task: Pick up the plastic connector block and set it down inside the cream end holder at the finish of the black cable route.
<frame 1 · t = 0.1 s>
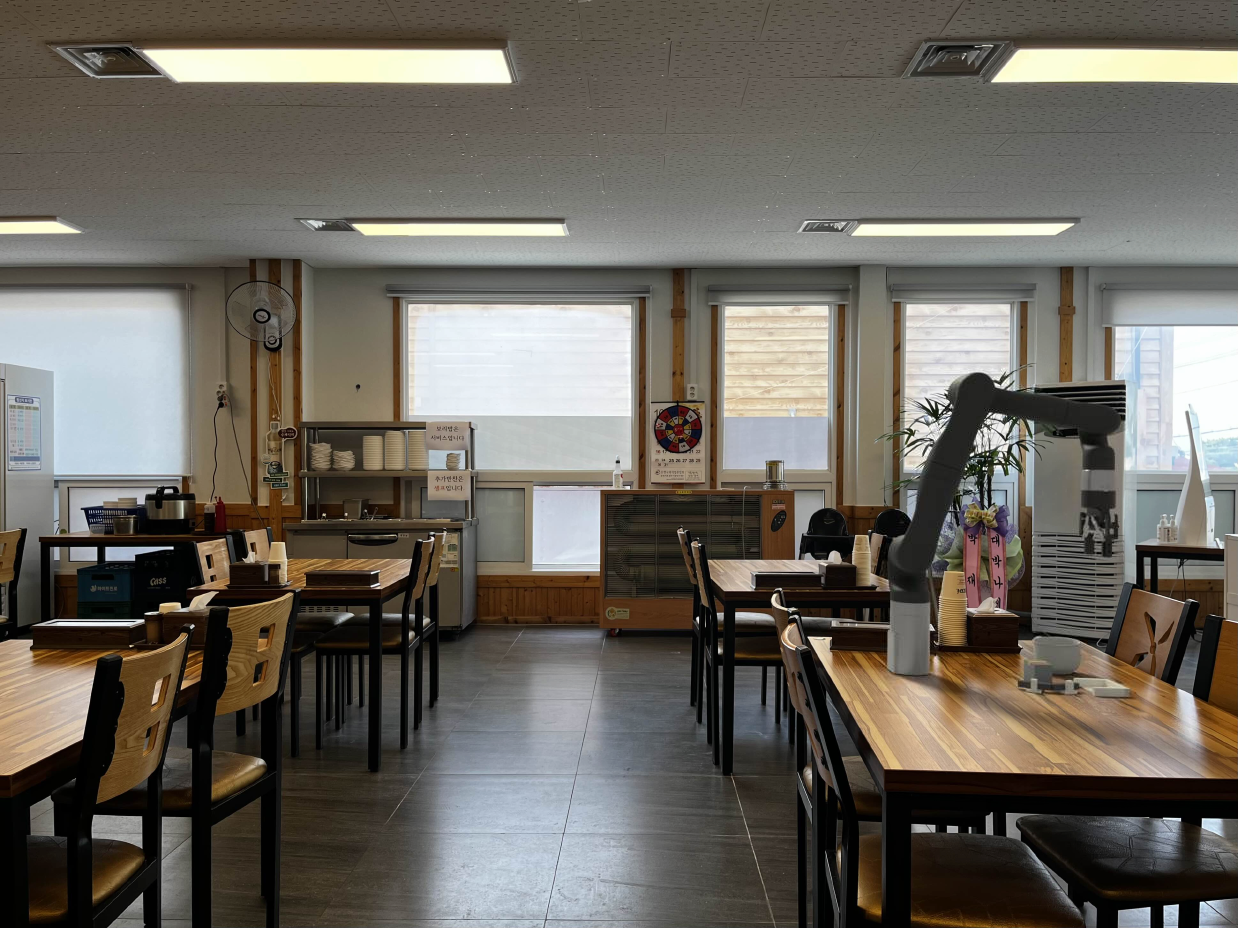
hand: (1097, 555, 220), 29 cm above the table, tool pointing down, fingers open, 8 cm apart
connector: (1037, 683, 211), on the table
end holder: (1100, 691, 203), on the table
cable run: (1048, 690, 203), on the table
clips: (1048, 690, 203), on the table
teacup: (1053, 671, 225), on the table
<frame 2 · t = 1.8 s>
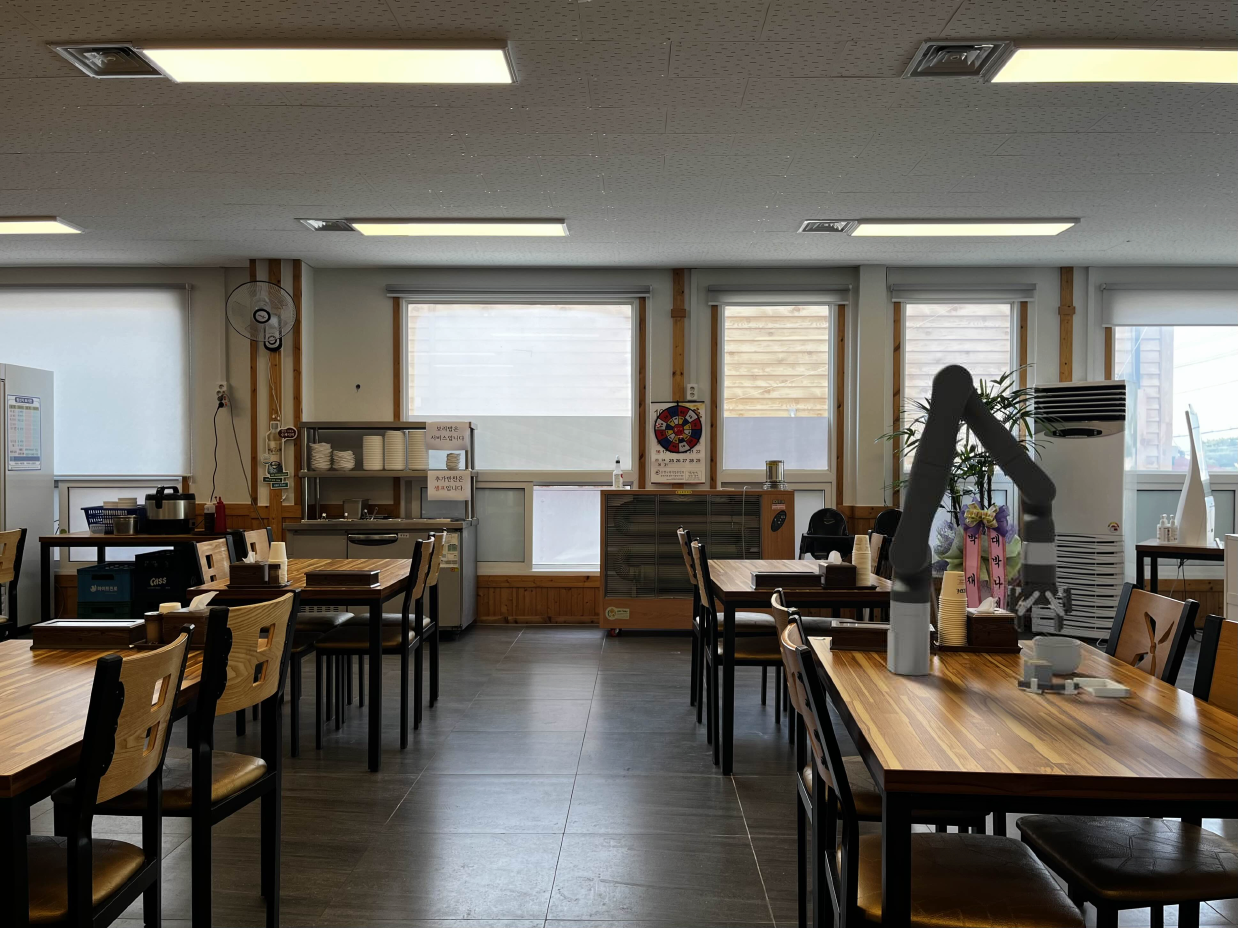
hand: (1039, 631, 211), 12 cm above the table, tool pointing down, fingers open, 8 cm apart
nothing on the table moved.
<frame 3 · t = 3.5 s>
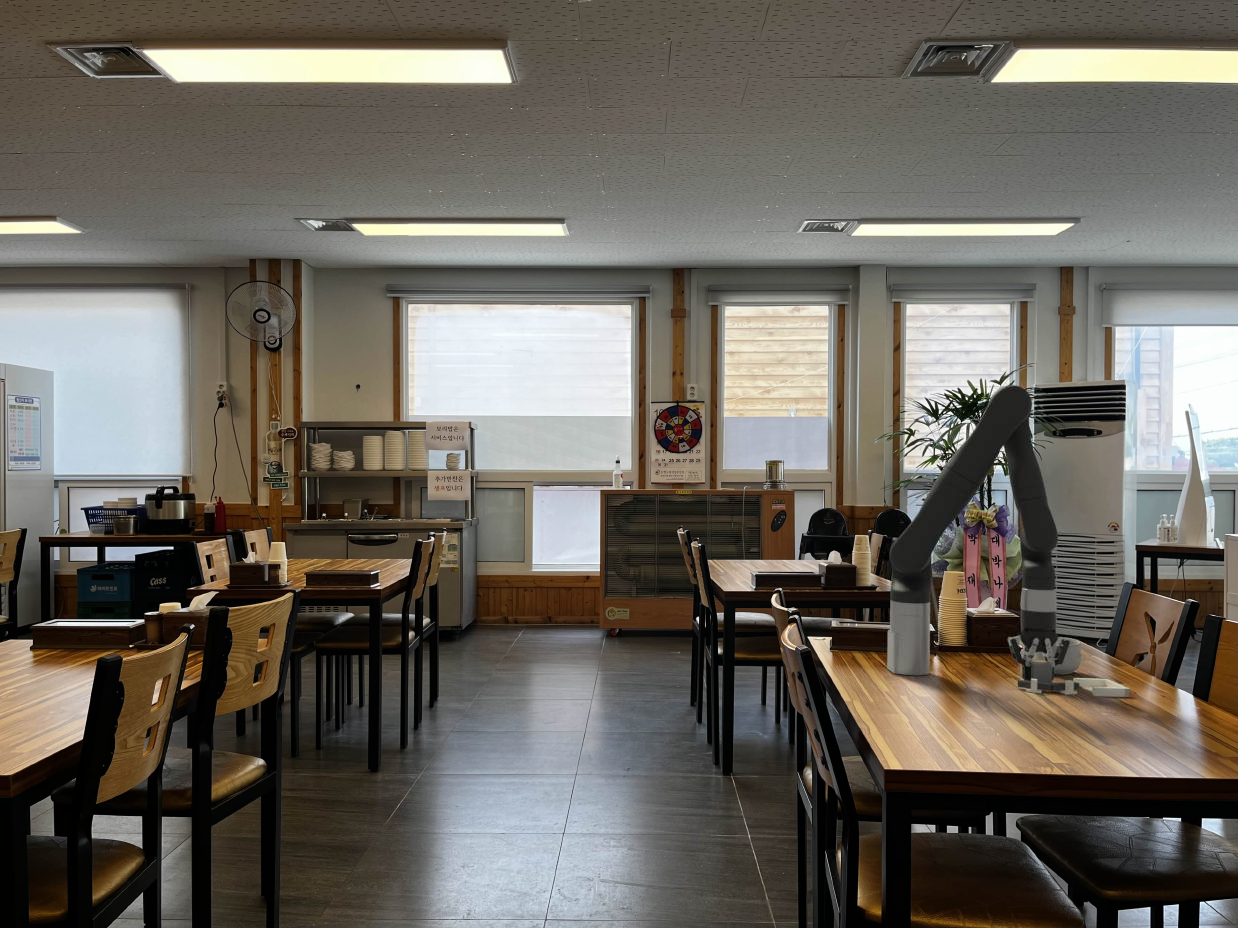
hand: (1037, 681, 211), 0 cm above the table, tool pointing down, fingers closed on connector, 4 cm apart
connector: (1037, 683, 211), on the table, touching gripper
everything else where it was.
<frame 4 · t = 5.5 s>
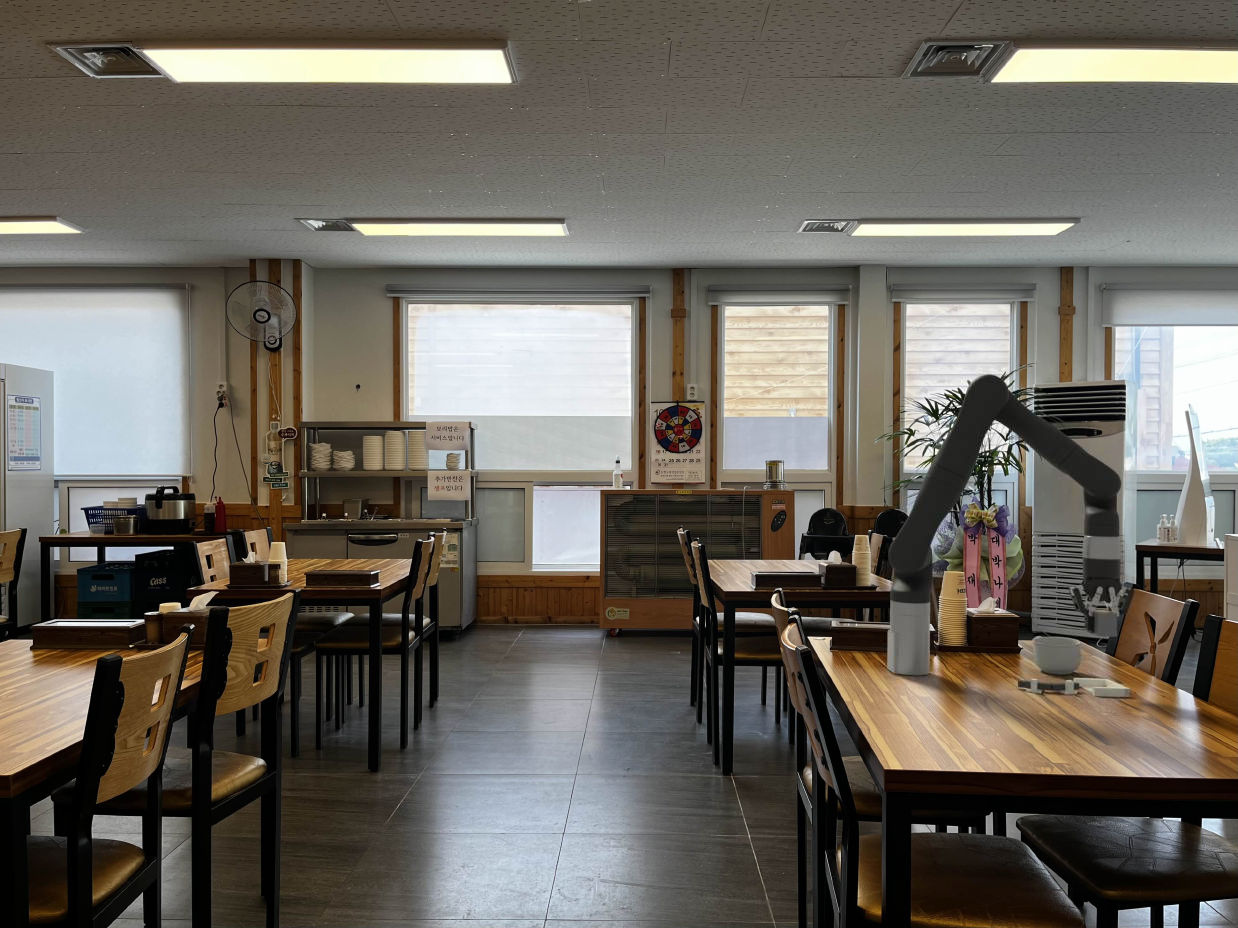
hand: (1101, 632, 204), 13 cm above the table, tool pointing down, fingers closed on connector, 4 cm apart
connector: (1101, 634, 204), point 13 cm above the table, touching gripper
everything else where it was.
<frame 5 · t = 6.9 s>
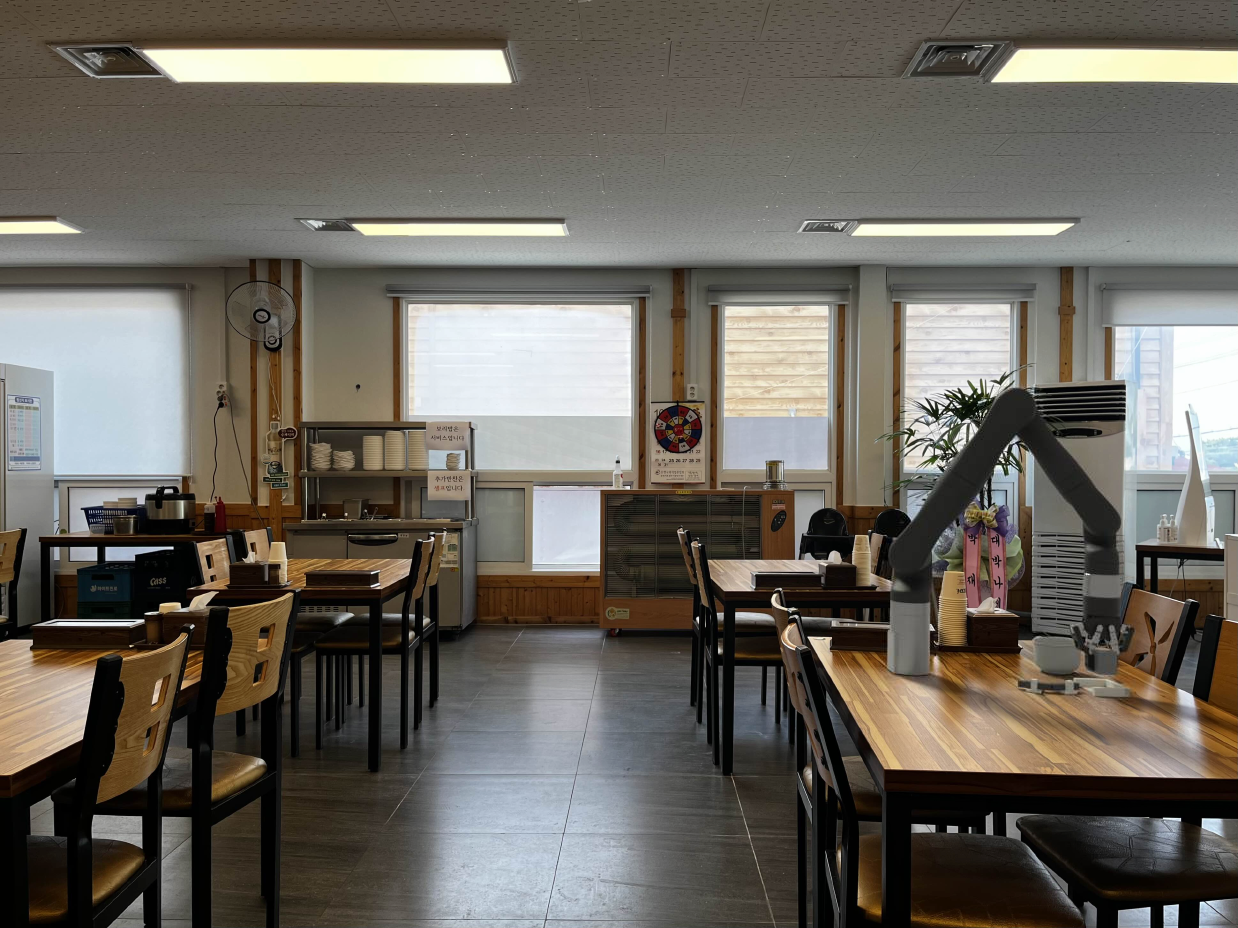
hand: (1101, 670, 203), 5 cm above the table, tool pointing down, fingers closed on connector, 4 cm apart
connector: (1101, 671, 203), point 4 cm above the table, touching gripper
everything else where it was.
when the fingers open (2 cm above the table, at t = 7.7 s): connector drops 2 cm, resting on end holder.
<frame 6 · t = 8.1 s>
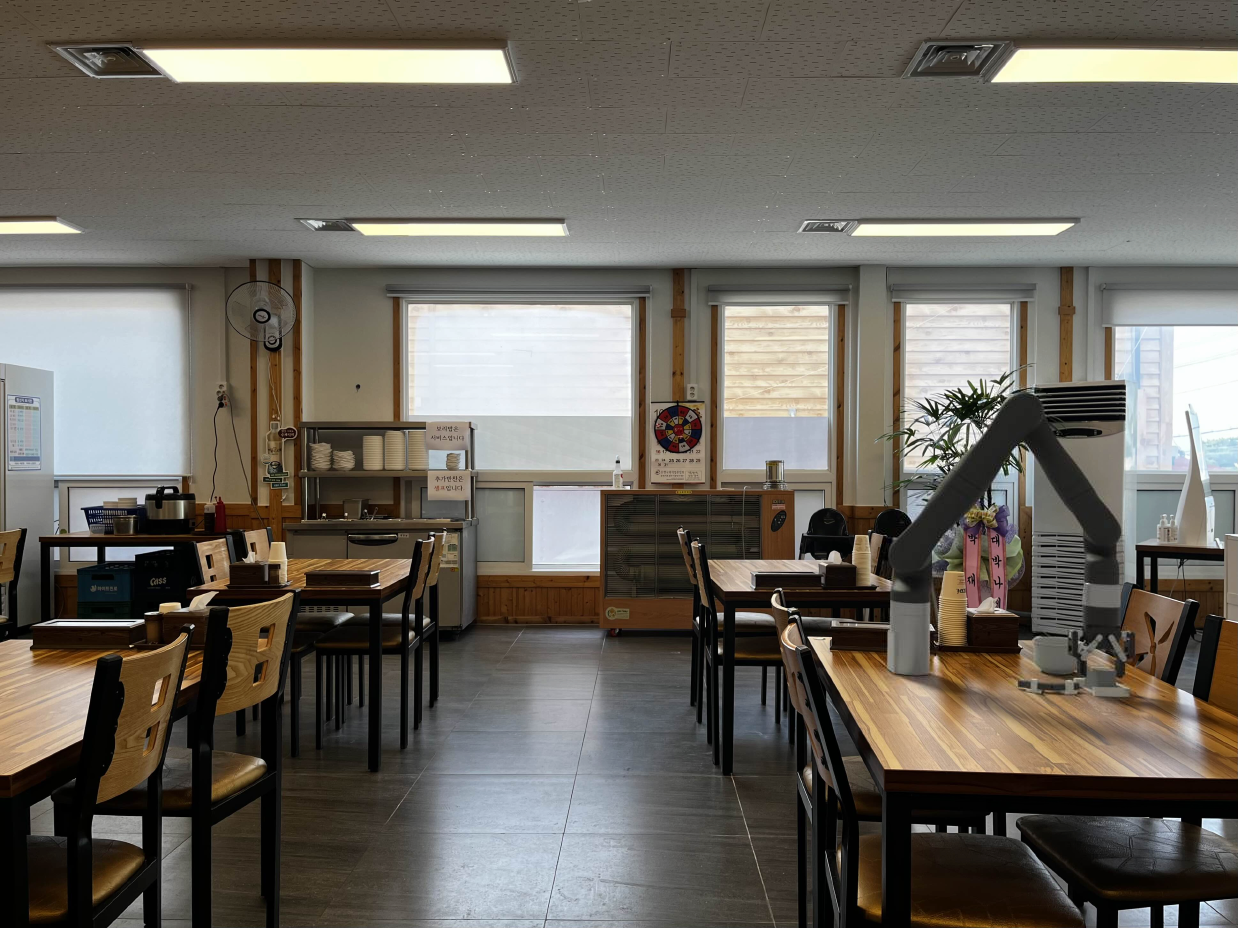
hand: (1100, 676, 203), 3 cm above the table, tool pointing down, fingers open, 7 cm apart
connector: (1100, 690, 203), resting on end holder
everything else where it was.
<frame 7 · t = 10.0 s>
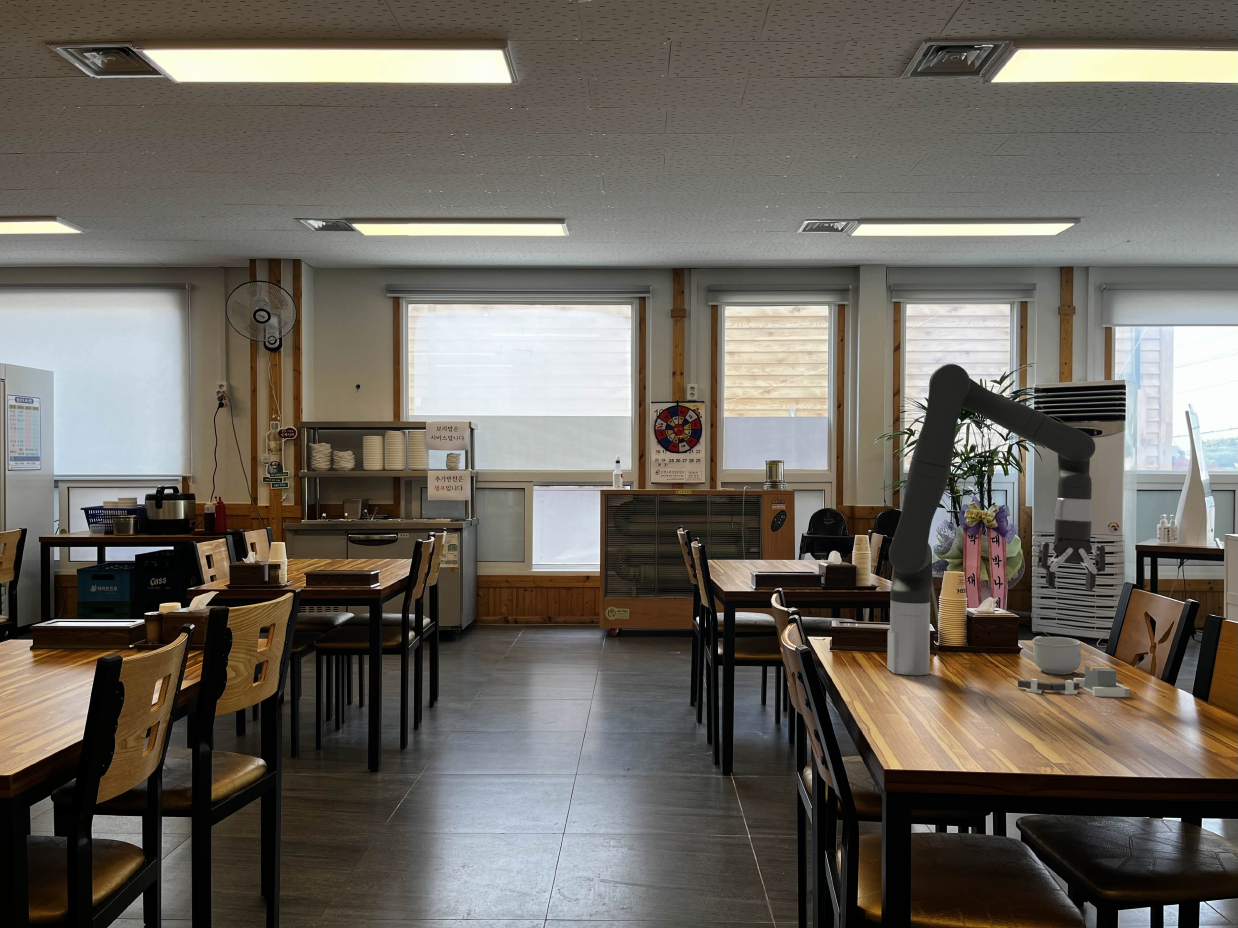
hand: (1070, 588, 209), 22 cm above the table, tool pointing down, fingers open, 8 cm apart
nothing on the table moved.
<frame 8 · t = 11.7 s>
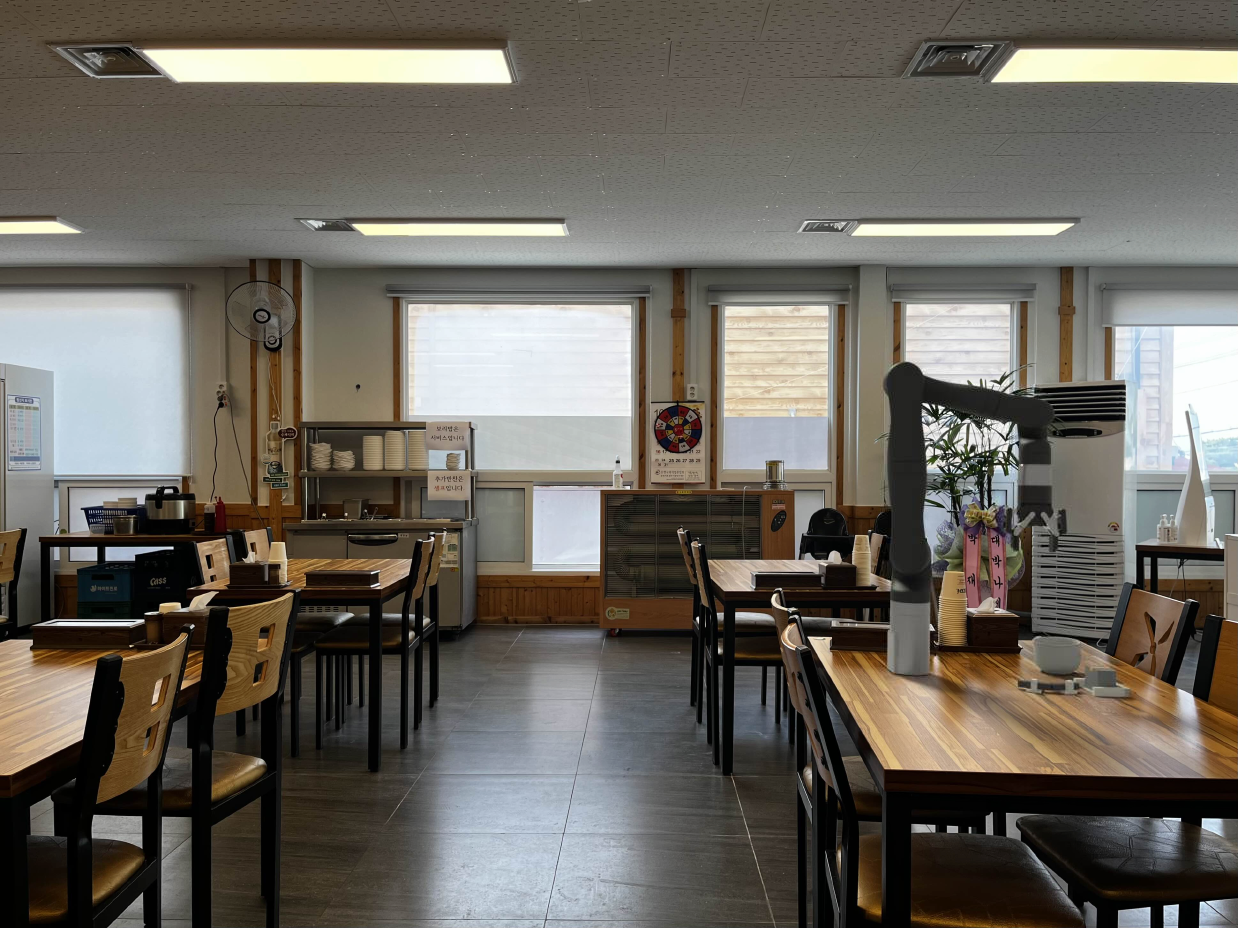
hand: (1034, 551, 216), 30 cm above the table, tool pointing down, fingers open, 8 cm apart
nothing on the table moved.
at the end: connector inside the target area on the end holder (0.1 cm from its centre), point 0.2 cm above the end holder's base; connector tilted 0°; the gripper is holding nothing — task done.
